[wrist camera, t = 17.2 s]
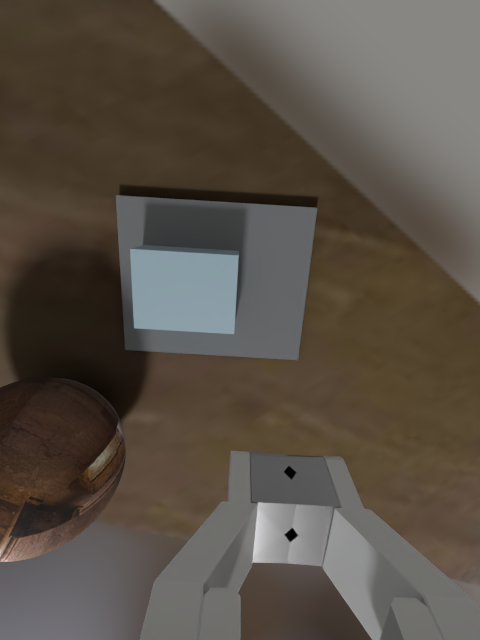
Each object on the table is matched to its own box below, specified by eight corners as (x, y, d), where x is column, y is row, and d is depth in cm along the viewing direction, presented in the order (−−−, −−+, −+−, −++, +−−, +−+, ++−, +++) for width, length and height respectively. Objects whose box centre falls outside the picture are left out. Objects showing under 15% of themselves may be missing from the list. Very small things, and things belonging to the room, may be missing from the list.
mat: (315, 207, 29) (317, 207, 28) (296, 356, 34) (297, 359, 33) (119, 195, 29) (115, 195, 28) (127, 346, 34) (125, 349, 33)
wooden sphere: (11, 449, 38) (-127, 588, 24) (15, 337, 34) (-153, 427, 19) (134, 475, 39) (72, 623, 25) (154, 370, 35) (92, 478, 20)
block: (238, 255, 26) (130, 248, 26) (234, 334, 29) (134, 328, 29) (239, 250, 30) (142, 245, 30) (235, 321, 32) (145, 316, 32)
